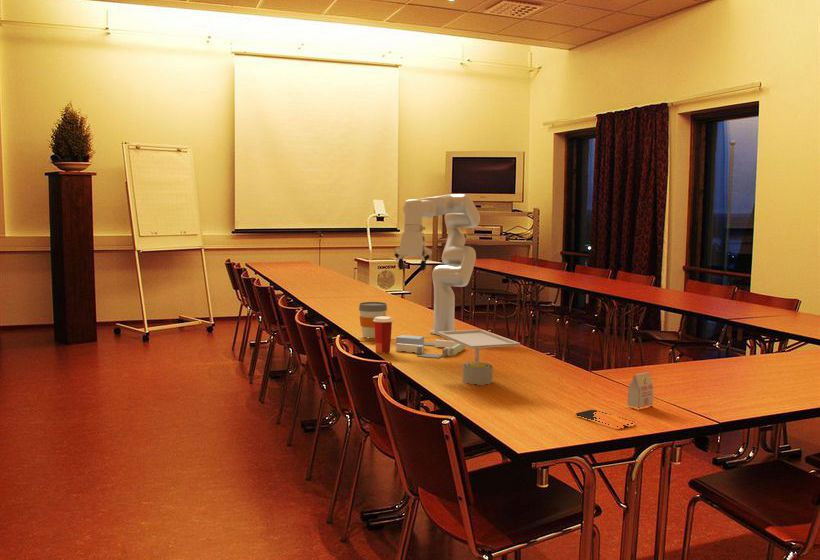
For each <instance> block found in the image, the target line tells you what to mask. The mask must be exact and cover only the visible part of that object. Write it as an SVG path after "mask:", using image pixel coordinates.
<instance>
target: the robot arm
mask: <svg viewBox="0 0 820 560" xmlns="http://www.w3.org/2000/svg"><path fill="white" fill-rule="evenodd" d="M402 210H403V214H404V222H403V223H404V225H403V229H404V230H403V232H402V233H401V239H400V245H399V246H397V247H395V248H393V249H392V252H393V254H394V257H395V258H396V260H398V263H397V264H398V266H397V267H398V270H399V271H400V270H404V260H403V259H404V258H405V257H419V258H420V259H421V261H420V271H421V272H422V271H423V272H424V271H426V269H427V268H426V267H427V266H426V265H427V261H428V259H429V258H430V257H431V255H432V253H433V250H432V249H430V248H428V247H426V238H425V237H426V236H425V233H424V232H423V231H425V230H426V226H423V219H430V218H433V217H434V216H435V217H436V216H442V215H444V224H445V227H446V231H447V239H446V242H445V245H444V247H443V248H444V249H443V251H442V255H441V261H442V264H439V265H436V266H435V267H434V268H433V269H432V273H431V276H432V277H431V278H432V284H433V329H430V331H429V332H430V334H431V333H432V335H435V334H436V336H439V335H438V334H437V332H440V331H458V330H456V329H455V308H456V307H455V306H456V305H455V304H456V303H455V301H456V300H455V298H456V297H455V296H456V295H455V293H454V290H453V288H452V287H456V288H457V287H459V288H461V287H462V288H463V287H466V286H468V285H469V282H470V279H471V277H472V274H473V271H474V267H475V263H476V261H477V254H476V253H477V252H476V250H475V248H474V247H472V246H468V245H465V244H466V237H465V235H464V233H463V231H461V229H462V228H464V229H465V228H466V229H471V228H477V227H478V226H479V225H480V222H481V215H480V212H479V210H478V208H477V207H476V205H475V203H474V201H473V200H472V198H471V197H470V196H469V195H467V194H464V193H463V194H462V193H458V194H456V193H455V194H452V193H451V194H450V193H448V194H444V195H443V194H442V195H437V196H429V197H423V198H414V199H407V200H405V202H404V204H403V207H402ZM398 252H399V253H400V254H399V253H398ZM426 252H427V254H426Z"/></svg>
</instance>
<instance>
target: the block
mask: <svg viewBox="0 0 820 560" xmlns="http://www.w3.org/2000/svg"><path fill="white" fill-rule="evenodd" d="M424 339H425V336H422V335H421V336H419V335H407V334H404V335H403V334H400V335H398V336H396V338H395V345H396V344H397V343H400V344H412V345H423V349H425V346H424V342H425V340H424Z"/></svg>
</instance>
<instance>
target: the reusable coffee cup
mask: <svg viewBox="0 0 820 560" xmlns="http://www.w3.org/2000/svg"><path fill="white" fill-rule="evenodd" d="M358 311H359V323H360V327H361V331H362V338H364V337H369V338H375V329H374V321H373V320H374V318H375V317H380V316H386V317H387V315H386V314H387V311H388V306H387V302H382V301H365V302H360V303H359V305H358ZM369 338H368V339H369Z"/></svg>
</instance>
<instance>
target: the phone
mask: <svg viewBox="0 0 820 560" xmlns="http://www.w3.org/2000/svg"><path fill="white" fill-rule="evenodd" d="M597 411H599V412H602V413H605V414H609V413H606V412H605V411H600V410H597V409H589V410H585V411H580V412H579V411H578V412H576V413H575V416H576V415H577V416H581V417H584V418H587V419H591V420H594V418H595V419H597V418H596V417H593V416H594V414H593V413H594V412H597ZM595 414H596V413H595ZM609 415H611V414H609ZM618 417H619V418H622V419H625V420H627V419H626V418H623V417H620V416H618ZM599 419H600V418H599ZM628 420H629V419H628ZM595 421H597V420H595ZM629 421H632V420H629ZM598 422H600V421H598ZM632 422H634V423H635V421H632ZM602 423H603V422H602ZM605 424H606V423H605ZM631 424H633V423H631ZM635 424H636V423H635ZM608 425H609V424H608ZM627 425H629V424H627ZM623 426H625V425H623ZM617 427H618V426H617Z"/></svg>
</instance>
